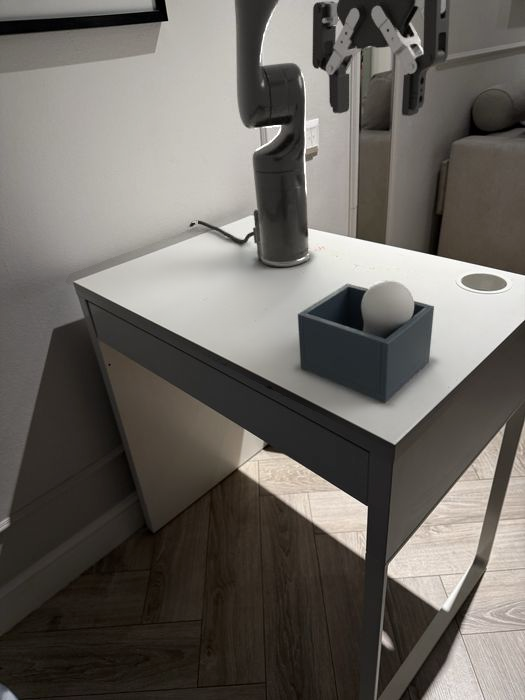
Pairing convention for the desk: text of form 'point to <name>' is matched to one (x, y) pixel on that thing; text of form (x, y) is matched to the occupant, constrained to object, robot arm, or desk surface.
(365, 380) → the bin
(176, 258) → the desk surface
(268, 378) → the desk surface
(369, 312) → the lightbulb
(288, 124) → the robot arm
